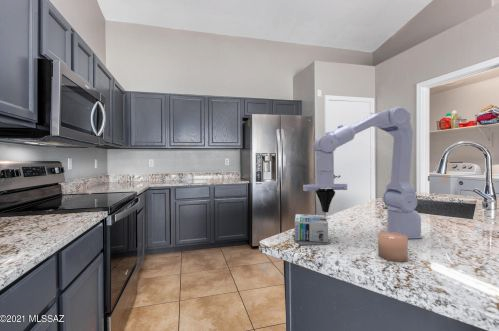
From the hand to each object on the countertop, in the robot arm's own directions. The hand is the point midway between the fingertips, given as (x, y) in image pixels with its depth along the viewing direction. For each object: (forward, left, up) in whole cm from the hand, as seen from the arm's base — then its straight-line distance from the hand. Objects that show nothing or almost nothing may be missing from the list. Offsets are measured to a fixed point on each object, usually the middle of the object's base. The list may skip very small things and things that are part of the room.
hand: (325, 211), depth 82 cm
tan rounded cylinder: (-13, +16, -10) cm, 23 cm away
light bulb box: (-1, -1, -6) cm, 6 cm away
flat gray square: (+5, 0, -9) cm, 11 cm away
